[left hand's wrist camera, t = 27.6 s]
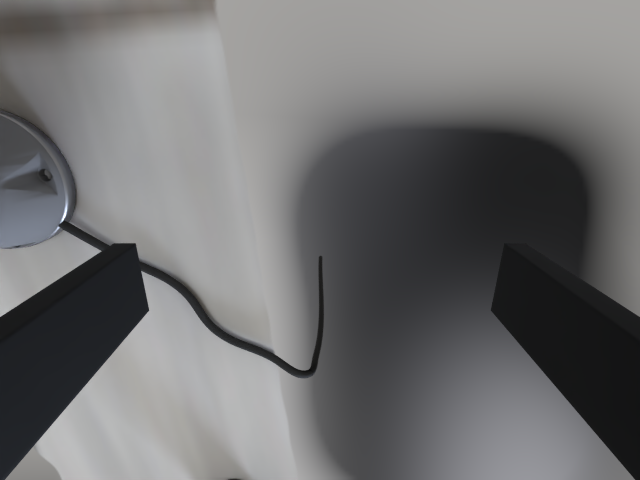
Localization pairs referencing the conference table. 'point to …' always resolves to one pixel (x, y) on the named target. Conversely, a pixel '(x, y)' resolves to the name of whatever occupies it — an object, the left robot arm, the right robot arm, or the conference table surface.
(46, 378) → the left robot arm
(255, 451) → the conference table surface
